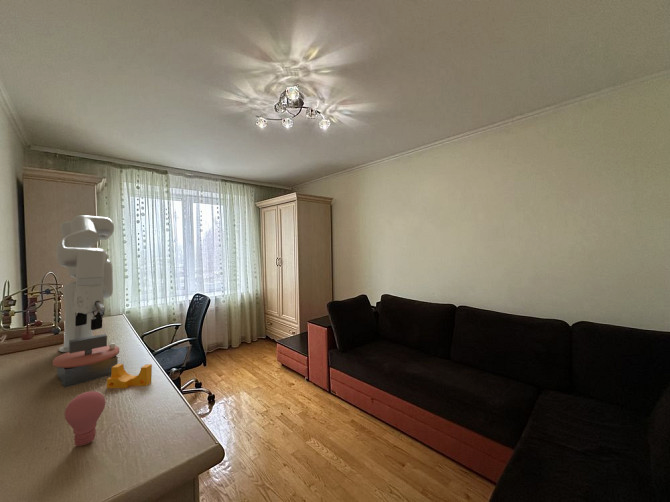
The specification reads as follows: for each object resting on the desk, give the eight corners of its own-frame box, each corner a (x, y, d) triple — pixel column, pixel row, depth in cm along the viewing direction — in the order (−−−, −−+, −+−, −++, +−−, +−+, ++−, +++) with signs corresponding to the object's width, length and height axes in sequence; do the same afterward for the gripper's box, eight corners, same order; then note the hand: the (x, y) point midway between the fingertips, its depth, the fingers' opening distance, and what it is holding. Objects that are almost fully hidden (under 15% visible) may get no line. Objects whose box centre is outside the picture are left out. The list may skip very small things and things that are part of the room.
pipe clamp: (106, 388, 88) (107, 369, 88) (117, 382, 92) (117, 363, 92) (142, 389, 88) (143, 369, 88) (151, 382, 92) (151, 364, 92)
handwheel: (54, 372, 85) (55, 350, 85) (50, 357, 96) (51, 338, 96) (124, 356, 98) (125, 337, 98) (113, 345, 110) (114, 328, 110)
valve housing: (57, 375, 96) (57, 359, 96) (106, 363, 107) (106, 348, 107) (64, 387, 87) (65, 370, 87) (117, 372, 99) (117, 357, 99)
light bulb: (82, 433, 66) (83, 386, 66) (111, 432, 67) (113, 385, 67) (54, 454, 59) (55, 402, 59) (88, 453, 60) (89, 401, 60)
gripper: (63, 280, 97) (62, 326, 97) (91, 285, 91) (90, 333, 91) (88, 278, 104) (87, 321, 104) (116, 282, 98) (114, 327, 98)
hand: (88, 327), depth 98 cm, fingers open, 9 cm apart
